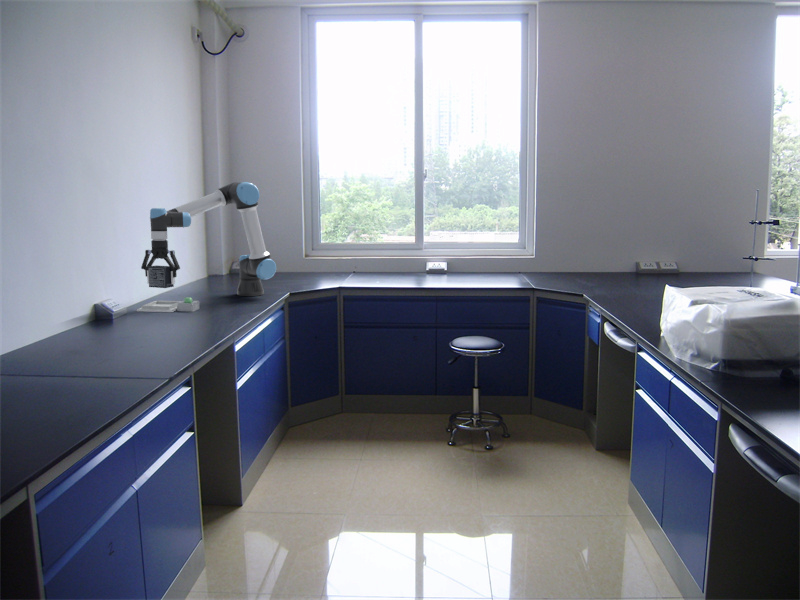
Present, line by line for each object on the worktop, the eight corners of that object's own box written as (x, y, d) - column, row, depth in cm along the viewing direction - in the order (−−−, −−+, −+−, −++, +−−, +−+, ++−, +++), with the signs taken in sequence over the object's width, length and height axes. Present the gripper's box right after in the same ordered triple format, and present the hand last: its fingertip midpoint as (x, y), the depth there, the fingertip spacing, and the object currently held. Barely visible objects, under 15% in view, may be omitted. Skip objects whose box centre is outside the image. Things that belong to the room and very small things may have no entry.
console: (199, 308, 314) (199, 300, 313) (193, 311, 306) (193, 303, 305) (183, 308, 314) (183, 300, 314) (177, 311, 306) (177, 303, 306)
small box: (174, 286, 312) (173, 266, 311) (165, 288, 306) (165, 267, 304) (157, 285, 316) (156, 264, 314) (148, 287, 310) (147, 266, 308)
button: (193, 305, 311) (192, 297, 311) (190, 306, 308) (190, 298, 307) (186, 305, 312) (185, 297, 311) (183, 306, 308) (183, 298, 307)
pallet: (187, 305, 321) (187, 301, 321) (172, 312, 303) (172, 307, 303) (153, 304, 322) (152, 300, 322) (136, 311, 304) (136, 306, 304)
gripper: (186, 239, 310) (187, 283, 314) (139, 238, 311) (141, 281, 315) (179, 240, 303) (181, 285, 306) (132, 239, 304) (134, 283, 308)
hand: (161, 283), depth 311 cm, fingers closed on small box, 11 cm apart
